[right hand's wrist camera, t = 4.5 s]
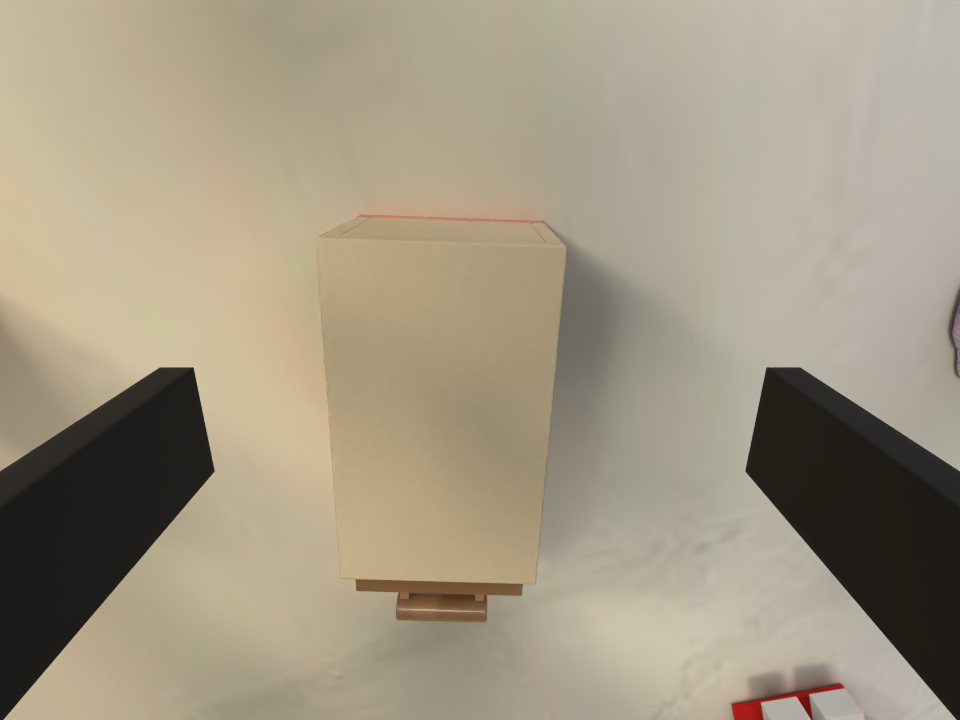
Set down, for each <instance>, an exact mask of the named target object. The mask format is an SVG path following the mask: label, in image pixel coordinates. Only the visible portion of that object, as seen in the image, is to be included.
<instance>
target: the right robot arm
mask: <svg viewBox="0 0 960 720" xmlns="http://www.w3.org/2000/svg"><path fill="white" fill-rule="evenodd" d="M213 473H214V466H213V461H212V456H211V451H210V446H209V441H208V436H207V432H206V427H205V422H204V417H203V412H202V407H201V402H200V397H199V392H198V387H197V382H196V378H195V373H194V368H159V369H157V370H155V371H154V372H152V373H151V374H149V375H148V376H146V377H145V378H143V379H142V380H140V381H139V382H137V383H135V384H134V385H132V386H131V387H129V388H128V389H126V390H125V391H123V392H122V393H120V394H119V395H117V396H115V397H114V398H112V399H111V400H109V401H108V402H106V403H105V404H103V405H102V406H100V407H99V408H97V409H96V410H94V411H92V412H91V413H89V414H88V415H86V416H85V417H83V418H82V419H80V420H79V421H77V422H76V423H74V424H72V425H71V426H69V427H68V428H66V429H65V430H63V431H62V432H60V433H59V434H57V435H56V436H54V437H52V438H51V439H49V440H48V441H46V442H45V443H43V444H42V445H40V446H39V447H37V448H36V449H34V450H32V451H31V452H29V453H28V454H26V455H25V456H23V457H22V458H20V459H19V460H17V461H16V462H14V463H13V464H11V465H9V466H8V467H6V468H5V469H3V470H2V471H0V720H3V719H4V718H5V717H6V716H7V715H8V714H9V712H10V711H11V710H12V709H13V708H14V707H15V705H16V704H17V703H18V702H19V701H20V699H21V698H22V697H23V696H24V695H25V694H26V692H27V691H28V690H29V689H30V688H31V687H32V685H33V684H34V683H35V682H36V681H37V679H38V678H39V677H40V676H41V675H42V674H43V672H44V671H45V670H46V669H47V668H48V667H49V665H50V664H51V663H52V662H53V661H54V660H55V658H56V657H57V656H58V655H59V654H60V652H61V651H62V650H63V649H64V648H65V647H66V645H67V644H68V643H69V642H70V641H71V640H72V638H73V637H74V636H75V635H76V634H77V632H78V631H79V630H80V629H81V628H82V627H83V625H84V624H85V623H86V622H87V621H88V620H89V618H90V617H91V616H92V615H93V614H94V612H95V611H96V610H97V609H98V608H99V607H100V605H101V604H102V603H103V602H104V601H105V600H106V598H107V597H108V596H109V595H110V594H111V593H112V591H113V590H114V589H115V588H116V587H117V585H118V584H119V583H120V582H121V581H122V580H123V578H124V577H125V576H126V575H127V574H128V573H129V571H130V570H131V569H132V568H133V567H134V565H135V564H136V563H137V562H138V561H139V560H140V558H141V557H142V556H143V555H144V554H145V553H146V551H147V550H148V549H149V548H150V547H151V545H152V544H153V543H154V542H155V541H156V540H157V538H158V537H159V536H160V535H161V534H162V533H163V531H164V530H165V529H166V528H167V527H168V525H169V524H170V523H171V522H172V521H173V520H174V518H175V517H176V516H177V515H178V514H179V513H180V511H181V510H182V509H183V508H184V507H185V506H186V504H187V503H188V502H189V501H190V500H191V498H192V497H193V496H194V495H195V494H196V493H197V491H198V490H199V489H200V488H201V487H202V486H203V484H204V483H205V482H206V481H207V480H208V478H209V477H210V476H211V475H212V474H213ZM746 473H747V474H748V475H749V476H750V477H751V478H752V480H753V481H754V482H755V483H756V484H757V486H758V487H759V488H760V489H761V490H762V491H763V493H764V494H765V495H766V496H767V497H768V498H769V500H770V501H771V502H772V503H773V504H774V506H775V507H776V508H777V509H778V510H779V511H780V513H781V514H782V515H783V516H784V517H785V518H786V520H787V521H788V522H789V523H790V524H791V525H792V527H793V528H794V529H795V530H796V531H797V533H798V534H799V535H800V536H801V537H802V538H803V540H804V541H805V542H806V543H807V544H808V545H809V547H810V548H811V549H812V550H813V551H814V553H815V554H816V555H817V556H818V557H819V558H820V560H821V561H822V562H823V563H824V564H825V565H826V567H827V568H828V569H829V570H830V571H831V573H832V574H833V575H834V576H835V577H836V578H837V580H838V581H839V582H840V583H841V584H842V585H843V587H844V588H845V589H846V590H847V591H848V593H849V594H850V595H851V596H852V597H853V598H854V600H855V601H856V602H857V603H858V604H859V605H860V607H861V608H862V609H863V610H864V611H865V612H866V614H867V615H868V616H869V617H870V618H871V620H872V621H873V622H874V623H875V624H876V625H877V627H878V628H879V629H880V630H881V631H882V632H883V634H884V635H885V636H886V637H887V638H888V640H889V641H890V642H891V643H892V644H893V645H894V647H895V648H896V649H897V650H898V651H899V652H900V654H901V655H902V656H903V657H904V658H905V660H906V661H907V662H908V663H909V664H910V665H911V667H912V668H913V669H914V670H915V671H916V672H917V674H918V675H919V676H920V677H921V678H922V679H923V681H924V682H925V683H926V684H927V685H928V687H929V688H930V689H931V690H932V691H933V692H934V694H935V695H936V696H937V697H938V698H939V699H940V701H941V702H942V703H943V704H944V705H945V707H946V708H947V709H948V710H949V711H950V712H951V714H952V715H953V716H954V717H955V718H956V719H957V720H960V471H958V470H957V469H955V468H954V467H952V466H951V465H949V464H947V463H946V462H944V461H943V460H941V459H940V458H938V457H937V456H935V455H934V454H932V453H931V452H929V451H928V450H926V449H924V448H923V447H921V446H920V445H918V444H917V443H915V442H914V441H912V440H911V439H909V438H908V437H906V436H904V435H903V434H901V433H900V432H898V431H897V430H895V429H894V428H892V427H891V426H889V425H888V424H886V423H884V422H883V421H881V420H880V419H878V418H877V417H875V416H874V415H872V414H871V413H869V412H868V411H866V410H864V409H863V408H861V407H860V406H858V405H857V404H855V403H854V402H852V401H851V400H849V399H848V398H846V397H845V396H843V395H841V394H840V393H838V392H837V391H835V390H834V389H832V388H831V387H829V386H828V385H826V384H825V383H823V382H821V381H820V380H818V379H817V378H815V377H814V376H812V375H811V374H809V373H808V372H806V371H805V370H803V369H801V368H766V373H765V378H764V382H763V387H762V392H761V397H760V402H759V407H758V412H757V417H756V422H755V427H754V432H753V436H752V441H751V446H750V451H749V456H748V461H747V466H746Z"/></svg>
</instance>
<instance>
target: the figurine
mask: <svg viewBox="0 0 960 720" xmlns="http://www.w3.org/2000/svg"><path fill="white" fill-rule="evenodd" d="M951 333H952V336H953V339H954V343H955V346H956V348H957V349H958V351H957V356H958V359H957V372H958V376H959V377H960V302H959V305H958V308H957V311H956V314H955V318H954V323H953V330H952V331H951Z"/></svg>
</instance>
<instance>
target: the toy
mask: <svg viewBox="0 0 960 720" xmlns="http://www.w3.org/2000/svg"><path fill="white" fill-rule="evenodd" d="M732 708H733V713H734V717H735V720H865V719H864V712H863V711H862V710H861V708H860V707H859V706H858V704H857V703H856V702H855V700H854V699H853V698H852V697H851V695H850V694H849V693H848V691H847V690H846V689H845V688H844V686H843V685H842V684H840V685H835V686H830V687H824V688H819V689H814V690H809V691H803V692H798V693H793V694H788V695H782V696H777V697H772V698H767V699H761V700H756V701H751V702H746V703H740V704H735V705H732Z"/></svg>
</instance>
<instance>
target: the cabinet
mask: <svg viewBox="0 0 960 720" xmlns="http://www.w3.org/2000/svg"><path fill="white" fill-rule="evenodd" d="M316 247H317V261H318V275H319V288H320V302H321V316H322V330H323V344H324V357H325V371H326V385H327V399H328V412H329V426H330V440H331V454H332V468H333V481H334V495H335V509H336V523H337V536H338V550H339V564H340V577H341V579H368V580H402V581H437V582H471V583H506V584H535V583H536V575H537V564H538V554H539V543H540V532H541V521H542V511H543V500H544V489H545V479H546V468H547V457H548V446H549V436H550V425H551V414H552V403H553V393H554V382H555V371H556V360H557V350H558V339H559V328H560V318H561V307H562V296H563V285H564V275H565V264H566V253H567V247H566V246H565V245H564V244H563V242H562V241H561V240H560V239H559V238H558V237H557V236H556V235H555V234H554V233H553V232H552V231H551V230H550V229H549V228H548V227H547V226H546V225H545V223H544V222H539V221H512V220H485V219H459V218H432V217H405V216H378V215H360V216H357V218H355V219H353V220H351V221H348V222H346V223H344V224H342V225H340V226H338V227H336V228H334V229H332V230H330V231H328V232H326V233H324V234H322V235H321V236H318V237H316Z"/></svg>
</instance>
